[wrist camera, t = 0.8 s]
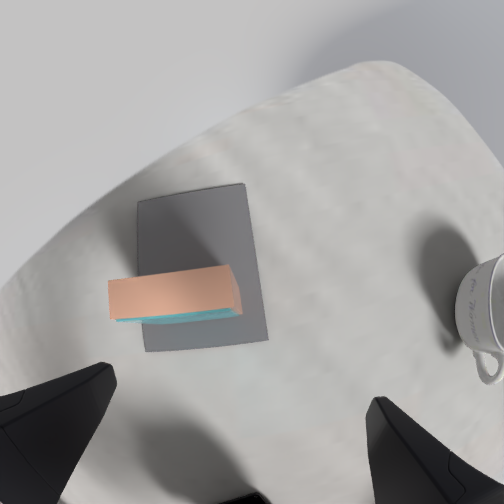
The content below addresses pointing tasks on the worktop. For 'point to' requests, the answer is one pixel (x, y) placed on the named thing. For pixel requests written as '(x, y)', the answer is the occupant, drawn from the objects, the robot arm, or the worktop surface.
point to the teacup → (483, 315)
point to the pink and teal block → (176, 296)
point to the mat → (202, 262)
